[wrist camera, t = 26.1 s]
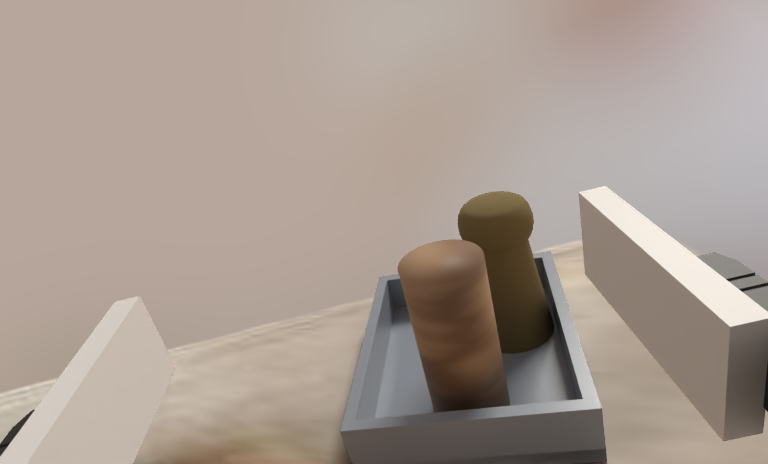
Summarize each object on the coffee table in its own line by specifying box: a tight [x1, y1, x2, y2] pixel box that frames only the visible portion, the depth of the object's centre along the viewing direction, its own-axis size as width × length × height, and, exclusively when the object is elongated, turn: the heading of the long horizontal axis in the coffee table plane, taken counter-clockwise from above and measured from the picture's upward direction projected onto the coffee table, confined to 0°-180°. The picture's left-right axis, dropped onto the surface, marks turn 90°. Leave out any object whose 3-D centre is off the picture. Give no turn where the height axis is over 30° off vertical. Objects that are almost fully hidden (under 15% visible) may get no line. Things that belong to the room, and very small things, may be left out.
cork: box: [458, 191, 554, 354], centre depth 39 cm, size 6×6×11 cm
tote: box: [340, 251, 607, 464], centre depth 39 cm, size 15×18×4 cm
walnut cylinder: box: [398, 240, 510, 413], centre depth 33 cm, size 5×5×11 cm
